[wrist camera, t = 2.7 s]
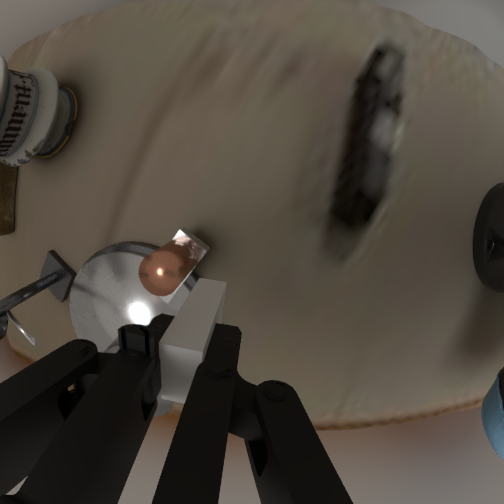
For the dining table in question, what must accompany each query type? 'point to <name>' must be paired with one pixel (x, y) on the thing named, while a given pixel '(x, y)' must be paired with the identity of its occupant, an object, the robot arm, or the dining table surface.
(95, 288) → the turntable
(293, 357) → the dining table surface
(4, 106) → the apothecary jar
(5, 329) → the dial gauge stand
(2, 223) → the stone block
